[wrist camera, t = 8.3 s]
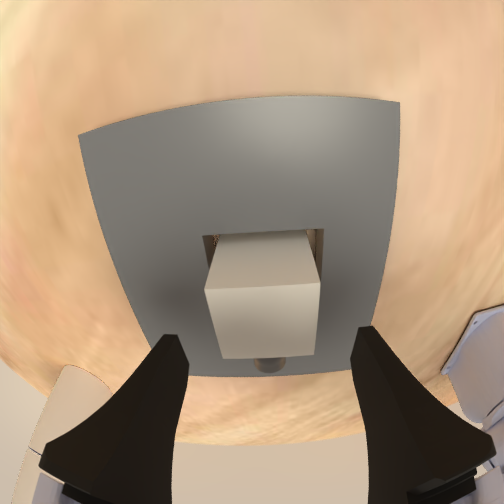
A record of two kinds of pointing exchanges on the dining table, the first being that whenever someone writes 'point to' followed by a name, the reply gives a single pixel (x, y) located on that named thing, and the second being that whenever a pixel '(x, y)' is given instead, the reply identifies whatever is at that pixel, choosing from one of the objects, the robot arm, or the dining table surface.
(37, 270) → the dining table surface
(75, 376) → the cylindrical container
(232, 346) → the plug
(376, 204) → the socket plate
